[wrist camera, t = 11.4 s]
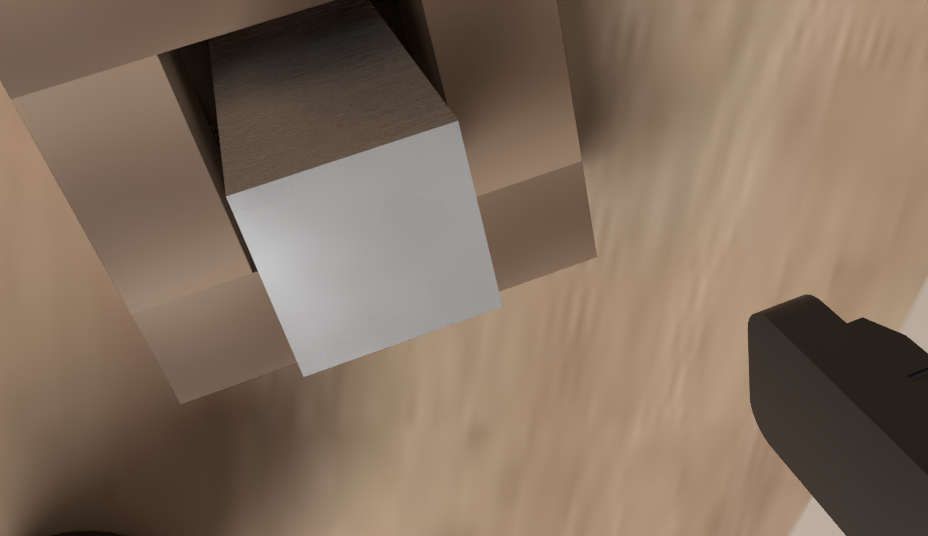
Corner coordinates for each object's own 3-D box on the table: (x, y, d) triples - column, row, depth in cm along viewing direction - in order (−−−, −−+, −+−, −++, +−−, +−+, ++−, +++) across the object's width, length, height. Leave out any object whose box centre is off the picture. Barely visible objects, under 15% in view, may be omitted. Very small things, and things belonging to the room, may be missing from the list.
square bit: (206, 27, 22) (226, 196, 14) (355, -18, 23) (458, 120, 14) (260, 162, 24) (303, 377, 16) (394, 119, 25) (502, 306, 17)
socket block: (-31, -87, 20) (-73, -51, 16) (467, -227, 21) (522, -220, 18) (179, 321, 26) (180, 404, 23) (546, 195, 28) (596, 256, 24)
